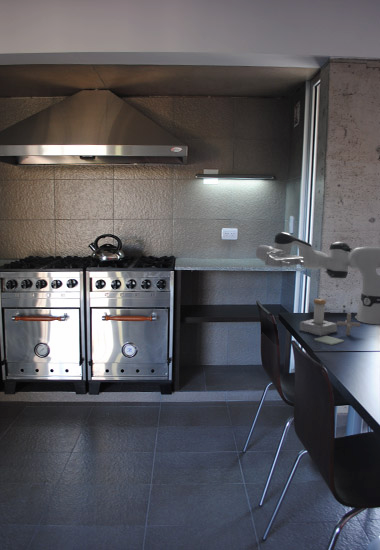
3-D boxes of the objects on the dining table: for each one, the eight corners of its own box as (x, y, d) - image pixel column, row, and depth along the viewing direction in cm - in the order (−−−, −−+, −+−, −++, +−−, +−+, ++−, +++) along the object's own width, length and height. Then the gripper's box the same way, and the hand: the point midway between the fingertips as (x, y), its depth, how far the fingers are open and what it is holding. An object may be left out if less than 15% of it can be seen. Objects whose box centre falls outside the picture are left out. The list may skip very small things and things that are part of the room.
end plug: (316, 329, 216) (318, 298, 214) (326, 331, 211) (328, 300, 209) (309, 330, 212) (311, 299, 210) (319, 333, 208) (321, 301, 206)
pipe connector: (361, 338, 200) (362, 316, 199) (337, 336, 202) (339, 315, 201) (357, 332, 210) (358, 311, 209) (335, 331, 212) (336, 310, 211)
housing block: (315, 326, 220) (315, 318, 220) (336, 331, 211) (337, 323, 210) (299, 330, 213) (300, 321, 212) (320, 335, 204) (321, 327, 203)
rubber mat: (326, 336, 202) (326, 335, 202) (343, 341, 195) (344, 340, 195) (313, 340, 196) (314, 338, 196) (331, 345, 189) (331, 343, 189)
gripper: (292, 262, 241) (310, 269, 229) (262, 264, 231) (280, 271, 219) (293, 251, 239) (312, 257, 227) (263, 252, 229) (281, 259, 217)
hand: (296, 264), depth 223 cm, fingers open, 8 cm apart
